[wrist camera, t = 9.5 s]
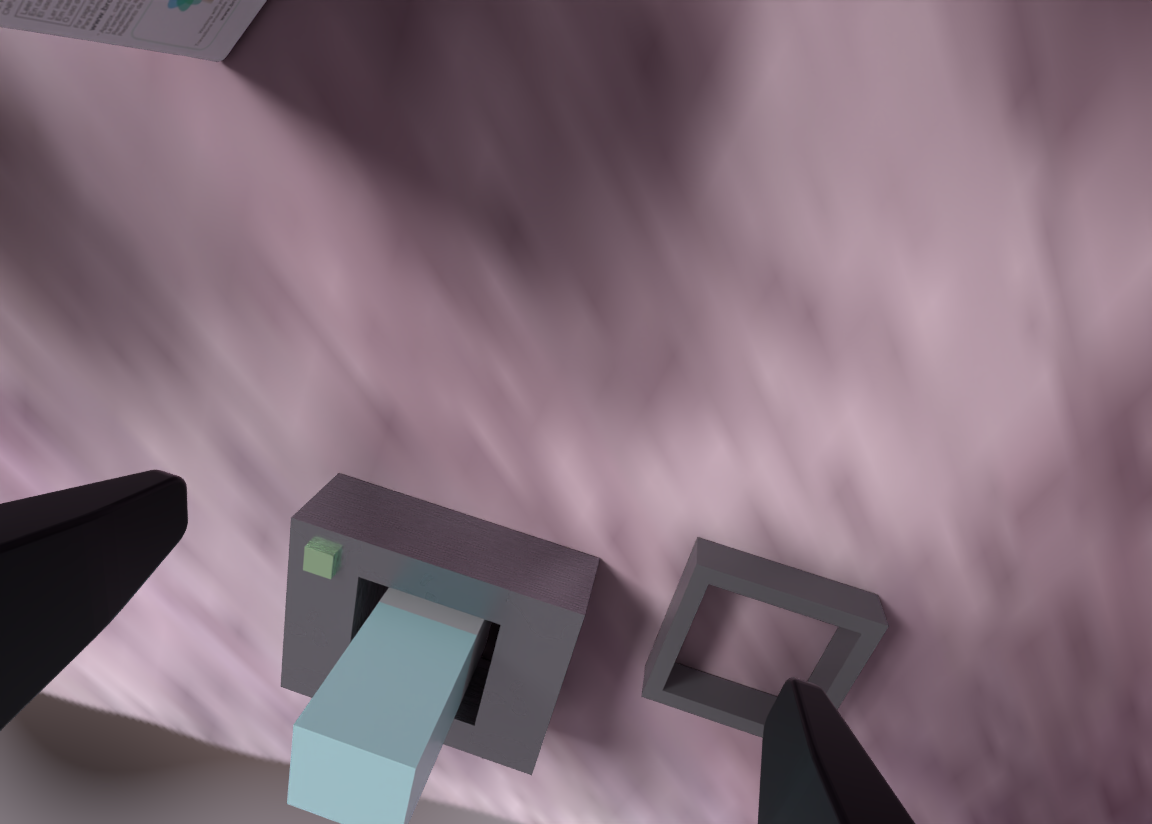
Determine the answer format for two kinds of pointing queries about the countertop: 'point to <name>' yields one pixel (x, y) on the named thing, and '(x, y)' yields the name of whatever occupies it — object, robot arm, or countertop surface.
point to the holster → (774, 586)
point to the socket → (447, 577)
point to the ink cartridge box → (139, 23)
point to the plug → (384, 712)
